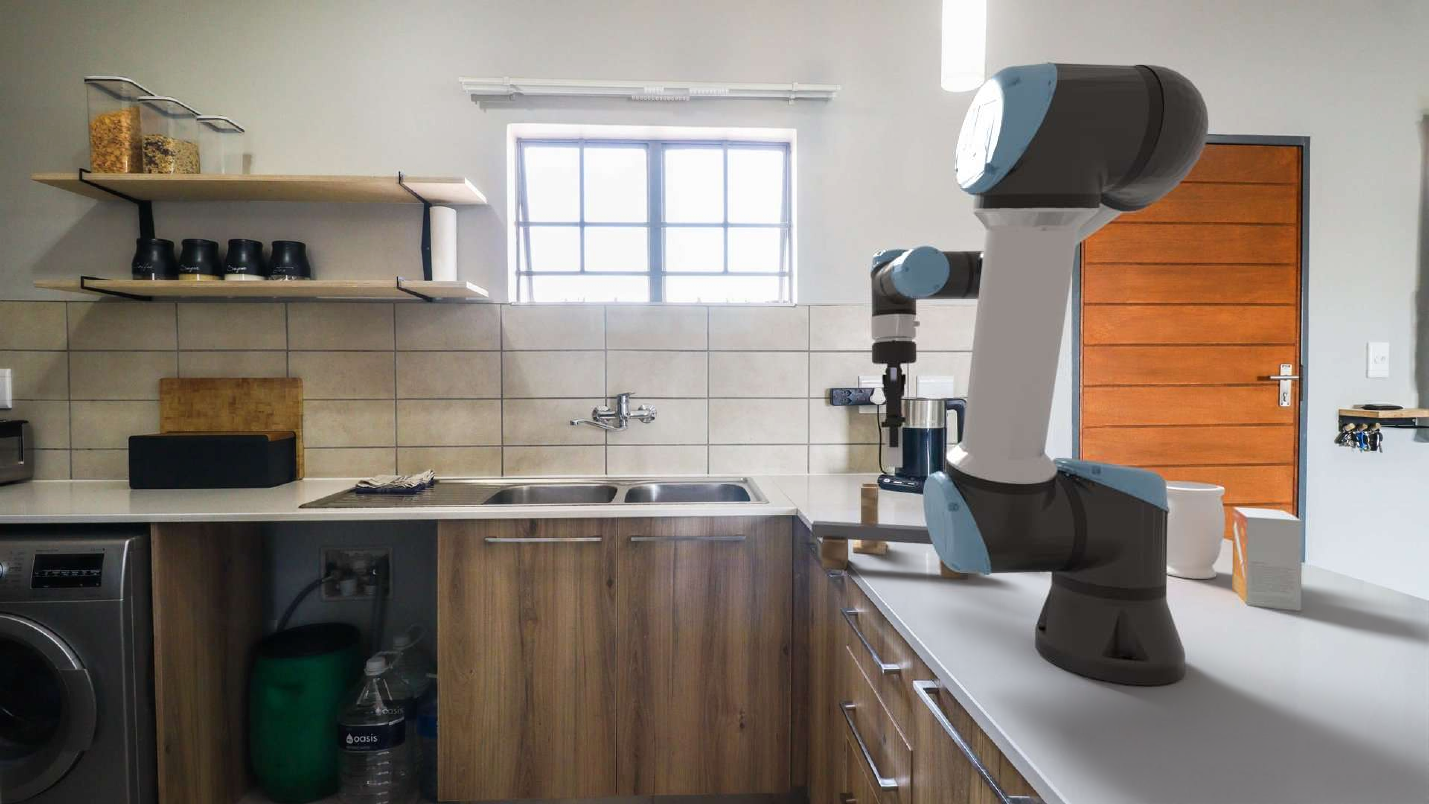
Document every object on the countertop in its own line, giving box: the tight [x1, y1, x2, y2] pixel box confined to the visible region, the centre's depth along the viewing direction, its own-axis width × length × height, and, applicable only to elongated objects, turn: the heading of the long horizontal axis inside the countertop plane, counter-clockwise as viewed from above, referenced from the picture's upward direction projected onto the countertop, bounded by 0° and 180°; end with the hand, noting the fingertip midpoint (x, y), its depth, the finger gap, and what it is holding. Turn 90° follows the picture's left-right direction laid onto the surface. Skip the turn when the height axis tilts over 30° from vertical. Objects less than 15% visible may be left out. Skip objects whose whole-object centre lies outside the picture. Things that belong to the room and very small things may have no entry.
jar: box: [1164, 480, 1226, 580], centre depth 109 cm, size 11×10×15 cm
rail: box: [811, 520, 933, 545], centre depth 113 cm, size 28×3×2 cm, turn 73°
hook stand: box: [852, 482, 887, 555], centre depth 124 cm, size 27×8×12 cm, turn 73°
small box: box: [1231, 506, 1303, 612], centre depth 95 cm, size 8×6×13 cm
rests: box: [821, 538, 968, 580], centre depth 113 cm, size 24×7×5 cm, turn 73°
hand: (894, 462), depth 113 cm, fingers open, 13 cm apart
